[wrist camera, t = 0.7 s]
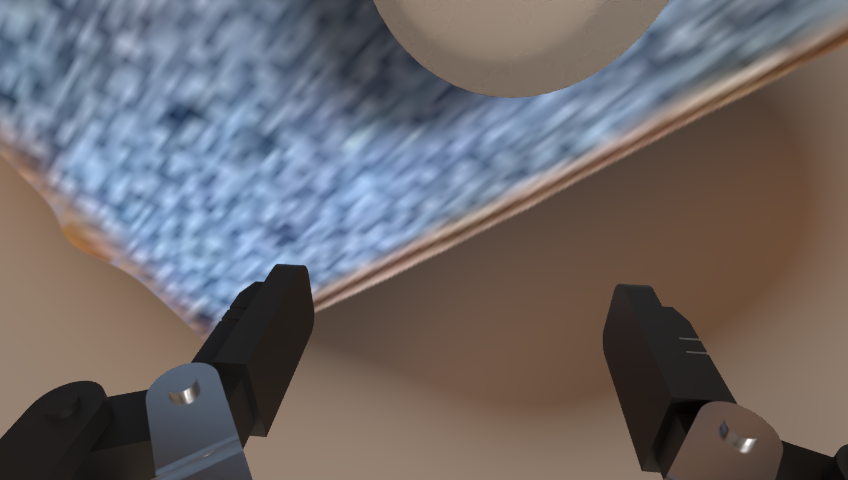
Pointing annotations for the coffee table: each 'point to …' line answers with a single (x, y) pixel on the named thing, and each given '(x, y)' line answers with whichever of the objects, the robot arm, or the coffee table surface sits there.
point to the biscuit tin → (517, 39)
